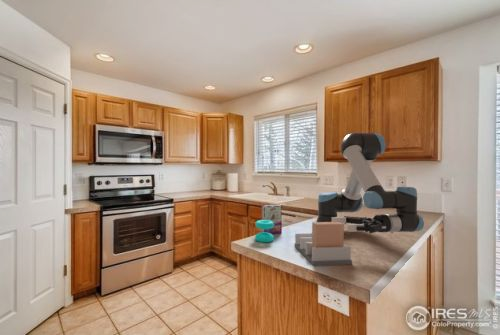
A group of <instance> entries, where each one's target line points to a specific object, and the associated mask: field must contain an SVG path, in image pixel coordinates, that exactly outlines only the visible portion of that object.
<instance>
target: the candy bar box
mask: <svg viewBox="0 0 500 335" xmlns="http://www.w3.org/2000/svg"><path fill="white" fill-rule="evenodd" d="M282 208H283V207H282V205H281V204H265V205H264V204H263V205H261V220H269V221H272V222H273V223H274V226H273V228H271V229H261V232H268V233H271V234H272V235H274V234H282V233H283V231H282V229H283V228H282V225H283V221H282V219H283V216H282V214H283V212H282Z"/></svg>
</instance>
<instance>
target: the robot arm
mask: <svg viewBox="0 0 500 335" xmlns="http://www.w3.org/2000/svg"><path fill="white" fill-rule="evenodd" d="M385 150H386V139H385V137H384V136H383V135H382V134H380V133H375V132H351V133H349V134H347V135H346V136H345V137H344V138H343V139H342V140H341V143H340V152H341V155H342V156H343V158H344V159H346V160H347V162H348V163H349V165H350V167H351V171H350V174H349V177H348V180H347V184H346V186H345V188H343V189H342V191H341V193H338V192H337V191H324V192H321V193H319V194H318V199H317V201H318V202H317V203H318V204H317V205H318V206H317V212H318V213H317V218H316V221H315V222H340V223H343V224H344V225H346V224H347V233H349V232H354V233H355V232H365V233H368V232H369V234H374V233H391V234H394V233H399V232H401V233H408V232H409V233H414V232H415V233H416V232H420V231H422V230H423V229H424V227H425V221H424V220H423V219H424V218H423V217H422V216H421V215H420V214H418V210H417V209H418V190H417V188H416V187H412V186H397V187H396V190H394V191H393V190H391V191H390V190H389V191H386V189H385V188H384V187H383V185H382V184H381V183H380V181H379V179H378V177H377V176H376V174H375V173H374V171H373V169H372V168H371V164H372V163H373V161H375V160H377V157H378V156H379V155H380V156H381V155H382V154H383V153H384V152H385ZM362 190H363V191H364V194H363V196H362V195H361V191H362ZM363 205H364V206H365V207H366V208H368V209H371V210H372V209H373V210H388V209H390V210H391V209H392V210H393V209H394V210H396V214H394V213H385V214H384V213H383V214H382V213H381V214H380V213H379V214H377V213H376V214H375V215H374V216H373V218H371V217H366V216H365V217H363V216H351V215H349V216H348V215H347V216H346V215H345V216H341V217H339V216H338V213H352V214H353V213H357V212H360V210H362V207H363Z"/></svg>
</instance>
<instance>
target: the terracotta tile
mask: <svg viewBox="0 0 500 335" xmlns="http://www.w3.org/2000/svg"><path fill="white" fill-rule="evenodd" d="M311 227H312V228H311V229H312V230H311V233H312V248H317V247H345V245H344V243H345V242H344V240H345V238H344V236H345V234H344V233H345V223H344V224H343V223H340V222H316V221H315V222H314V221H313V222H312V223H311Z"/></svg>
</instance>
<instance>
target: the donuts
mask: <svg viewBox="0 0 500 335" xmlns="http://www.w3.org/2000/svg"><path fill="white" fill-rule="evenodd" d="M254 224H255V227H256V228H257V229H260V230H262V229H271V228H273V226H274V223H273V222H272V221H269V220H262V219H259V220H257V221H256V222H254ZM254 238H255V240H256V241H257V242H259V243H271V242H273V241H274V238H275V235H274V234H271V233H268V232H262V231H260V232H257V234H255V236H254Z"/></svg>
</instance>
